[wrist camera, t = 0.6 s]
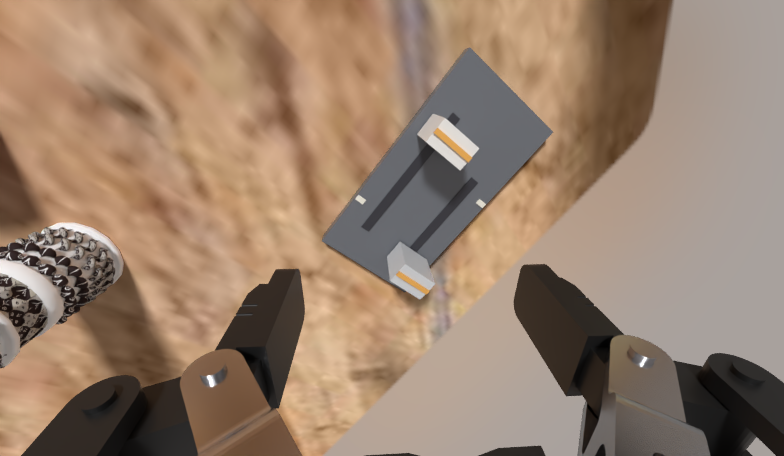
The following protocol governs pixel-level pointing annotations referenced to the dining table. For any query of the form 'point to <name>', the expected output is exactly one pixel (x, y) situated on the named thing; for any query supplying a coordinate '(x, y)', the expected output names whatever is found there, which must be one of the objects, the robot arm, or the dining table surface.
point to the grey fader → (410, 271)
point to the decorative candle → (51, 280)
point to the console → (439, 171)
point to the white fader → (448, 141)
